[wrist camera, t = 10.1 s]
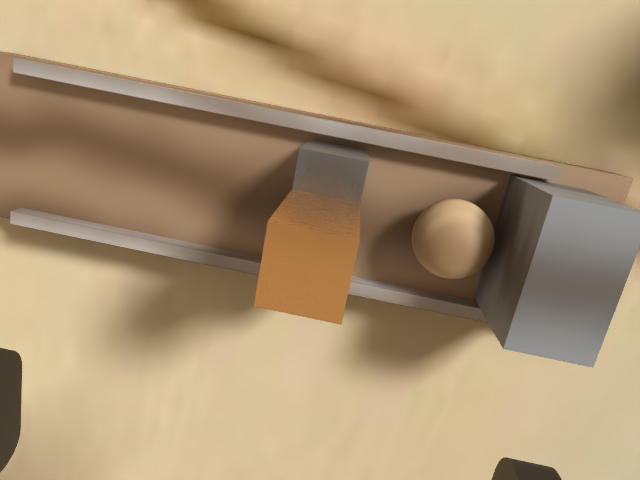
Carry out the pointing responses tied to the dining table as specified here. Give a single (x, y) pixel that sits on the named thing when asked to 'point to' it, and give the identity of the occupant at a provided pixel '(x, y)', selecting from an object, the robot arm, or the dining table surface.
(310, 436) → the dining table surface
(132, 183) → the base
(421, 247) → the smooth beige ball
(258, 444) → the dining table surface
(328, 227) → the sliding jaw
